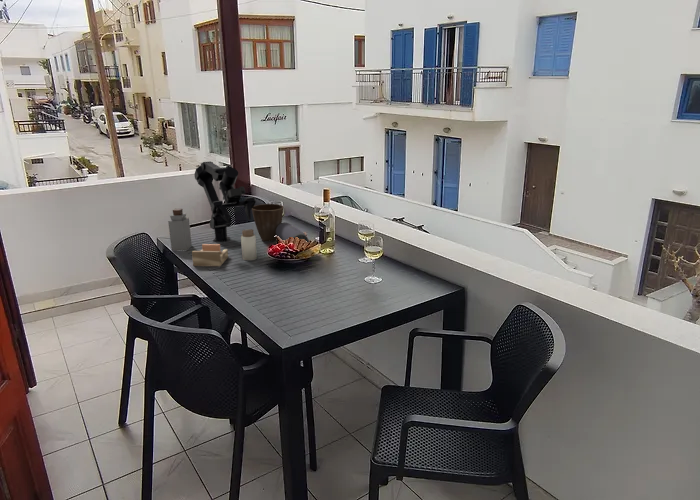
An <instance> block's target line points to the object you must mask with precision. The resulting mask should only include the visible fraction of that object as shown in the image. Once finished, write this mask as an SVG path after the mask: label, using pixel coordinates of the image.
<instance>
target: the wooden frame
mask: <svg viewBox="0 0 700 500" xmlns="http://www.w3.org/2000/svg"><path fill="white" fill-rule="evenodd" d="M191 254H192V255H191V257H192V265H193V267H222V265H223V264H224V263H225V262H226V261H227V259H228V258H229V250H228V249H227V248H225V249H223V250H221V253H220V251H203V249H202V248H201V250H192V251H191Z"/></svg>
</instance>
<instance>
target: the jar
mask: <svg viewBox="0 0 700 500" xmlns="http://www.w3.org/2000/svg"><path fill="white" fill-rule="evenodd" d="M241 233H242V234H241V235H240V242H241V255H242V256H241V258H242V260H243V261H254V260H256V259H258V256H257V255H258V254H257V239H256V234H255V233H254V229H251V228H246V229H242V231H241Z"/></svg>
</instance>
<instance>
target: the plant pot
mask: <svg viewBox="0 0 700 500" xmlns="http://www.w3.org/2000/svg"><path fill="white" fill-rule="evenodd" d="M251 212H252V216H253V220H254V224H255V227H256V230H257V233H258V236H259V237H260V239H261V241H262V242H275V241H277V240H276V238H275V237H274V236H275V235H276V228H277V226H278V225H279V224H280V223H283V217H284V205H282V204H276V203H264V204H263V203H262V204H257V205H256V204H255V205H254V207H253V208H252V209H251Z"/></svg>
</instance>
